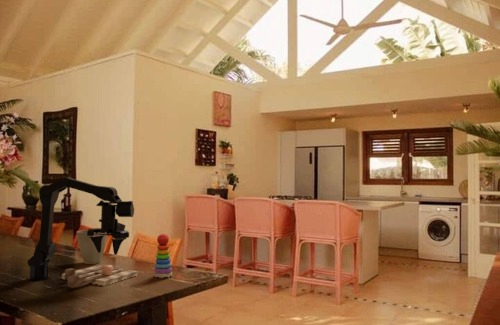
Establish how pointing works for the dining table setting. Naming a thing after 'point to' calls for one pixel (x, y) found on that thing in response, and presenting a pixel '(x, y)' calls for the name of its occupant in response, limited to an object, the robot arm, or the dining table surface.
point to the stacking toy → (163, 258)
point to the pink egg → (107, 270)
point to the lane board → (107, 280)
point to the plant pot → (90, 248)
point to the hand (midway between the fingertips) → (107, 253)
